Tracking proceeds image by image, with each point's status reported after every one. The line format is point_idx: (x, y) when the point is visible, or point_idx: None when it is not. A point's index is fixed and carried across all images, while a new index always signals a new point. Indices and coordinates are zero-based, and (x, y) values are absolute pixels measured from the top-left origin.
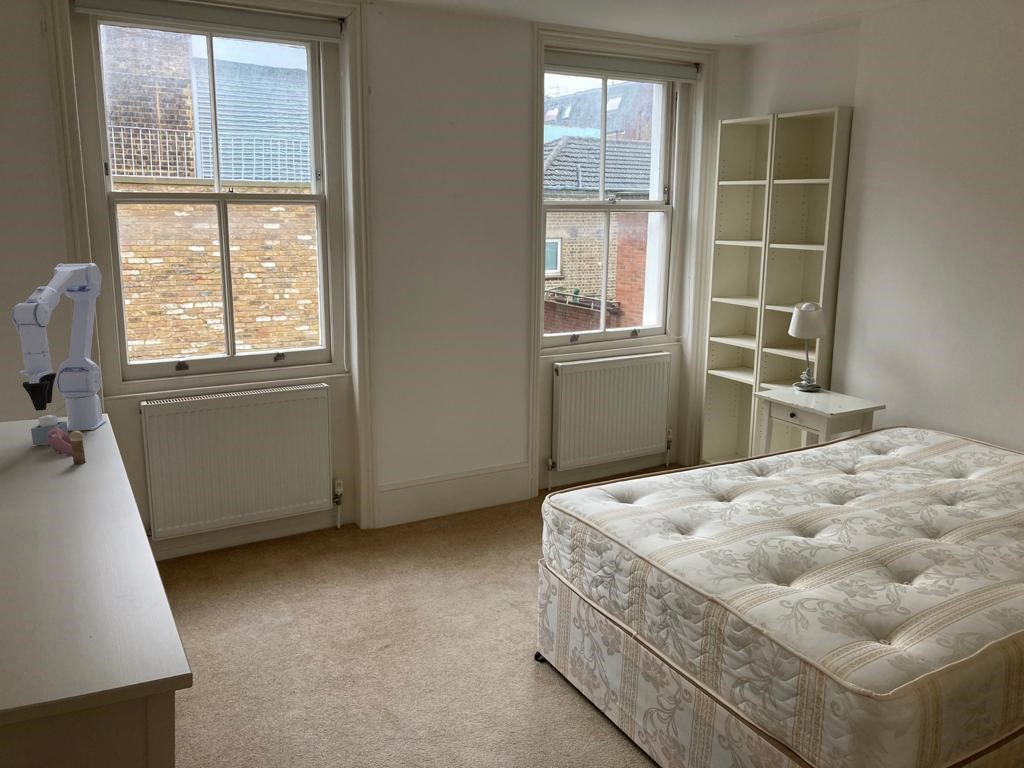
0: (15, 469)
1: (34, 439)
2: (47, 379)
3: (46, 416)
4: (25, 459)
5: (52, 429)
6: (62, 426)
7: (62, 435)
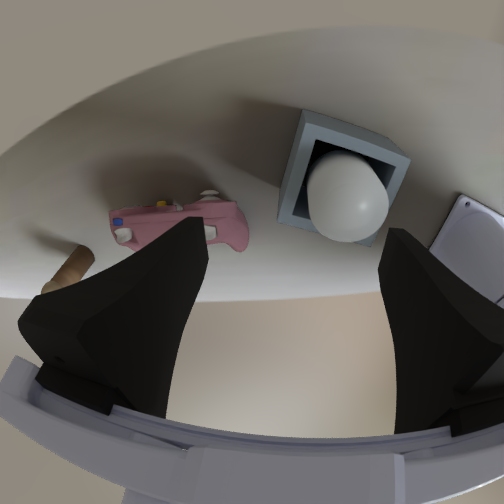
0: (51, 134)
1: (301, 120)
2: (415, 403)
3: (335, 208)
4: (126, 124)
5: (159, 232)
6: None
7: None
